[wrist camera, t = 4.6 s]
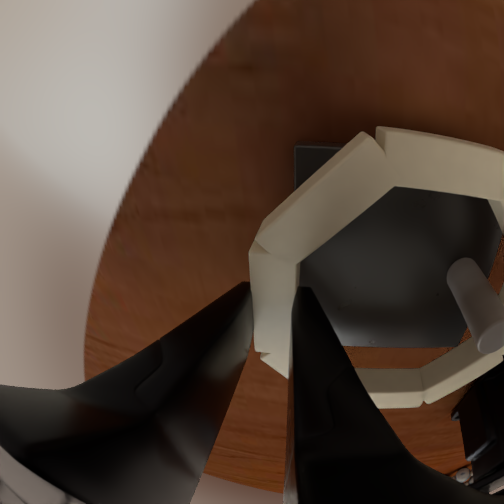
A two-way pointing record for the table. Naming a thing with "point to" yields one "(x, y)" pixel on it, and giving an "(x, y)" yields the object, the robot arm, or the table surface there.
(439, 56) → the table surface
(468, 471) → the bracelet
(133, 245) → the table surface
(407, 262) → the peg stand
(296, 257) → the ring
